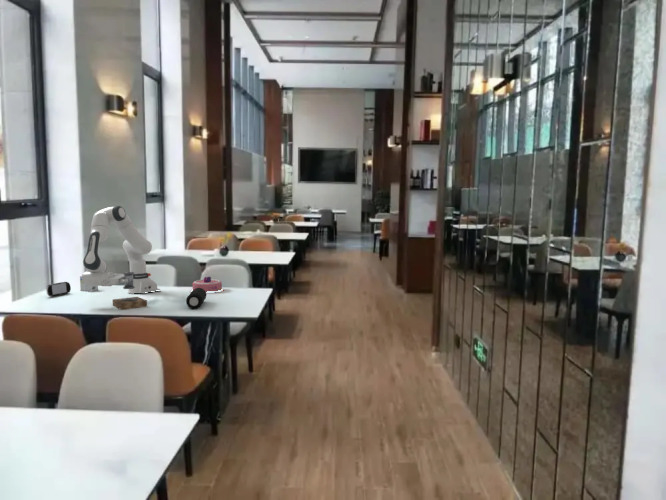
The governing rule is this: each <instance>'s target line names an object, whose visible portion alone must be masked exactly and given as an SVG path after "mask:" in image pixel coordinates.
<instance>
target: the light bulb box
mask: <svg viewBox="0 0 666 500" xmlns="http://www.w3.org/2000/svg"><path fill="white" fill-rule="evenodd" d="M79 285H80V288H79V289H80V291H83V292H84V291H85V292H96V291H98V290H99V286H87V285H85V284H84V283H83V281H82V275H80V276H79Z"/></svg>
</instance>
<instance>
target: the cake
mask: <svg viewBox="0 0 666 500" xmlns="http://www.w3.org/2000/svg"><path fill="white" fill-rule="evenodd" d="M196 288H202V289H204V290H205V292H207V291H218V290H221V289H223V284H222V281H221V280H219V279H213V278H212V276H205V277H204V278H202V279H197V280H194V281H193V282H192V289H193V290H194V289H196Z"/></svg>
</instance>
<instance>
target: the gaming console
mask: <svg viewBox="0 0 666 500" xmlns="http://www.w3.org/2000/svg"><path fill="white" fill-rule="evenodd" d="M71 289H72V288H71V284H70V283H69V282H68V281H62V282H55V283H50V284H48V285H47V286H46V289H45V290H46V295H47V296H48V297H49V298H54V297H59V296H64V295H68V294H69V293H70V292H71Z"/></svg>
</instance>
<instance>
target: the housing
mask: <svg viewBox="0 0 666 500" xmlns="http://www.w3.org/2000/svg"><path fill="white" fill-rule="evenodd" d="M122 274H124V279H129V281H128V282H123V283H124V284H123V285H124V286H123V289H124V290H129V289H134V288H135V287H134V286H133V274H134V272H130V271H125V272H123V273H122Z"/></svg>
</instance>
